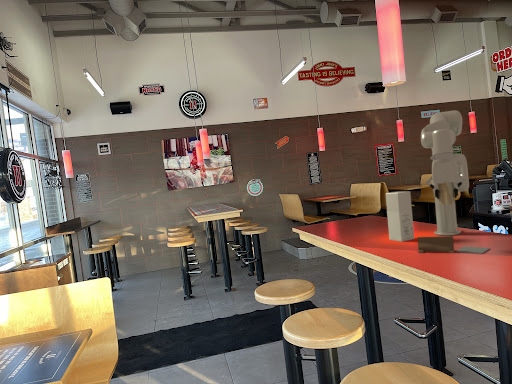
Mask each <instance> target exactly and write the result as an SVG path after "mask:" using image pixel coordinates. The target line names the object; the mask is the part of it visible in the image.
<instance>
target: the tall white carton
mask: <svg viewBox="0 0 512 384" xmlns="http://www.w3.org/2000/svg"><path fill="white" fill-rule="evenodd" d="M385 202H386V214H387V215H386V216H387V226H388V237H389V241H395V242H401V243H402V242H407V241H412V239H413V240H415V232H414V221H413V208H412V207H413V206H412V195H411V191H391V192H386V193H385Z"/></svg>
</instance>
